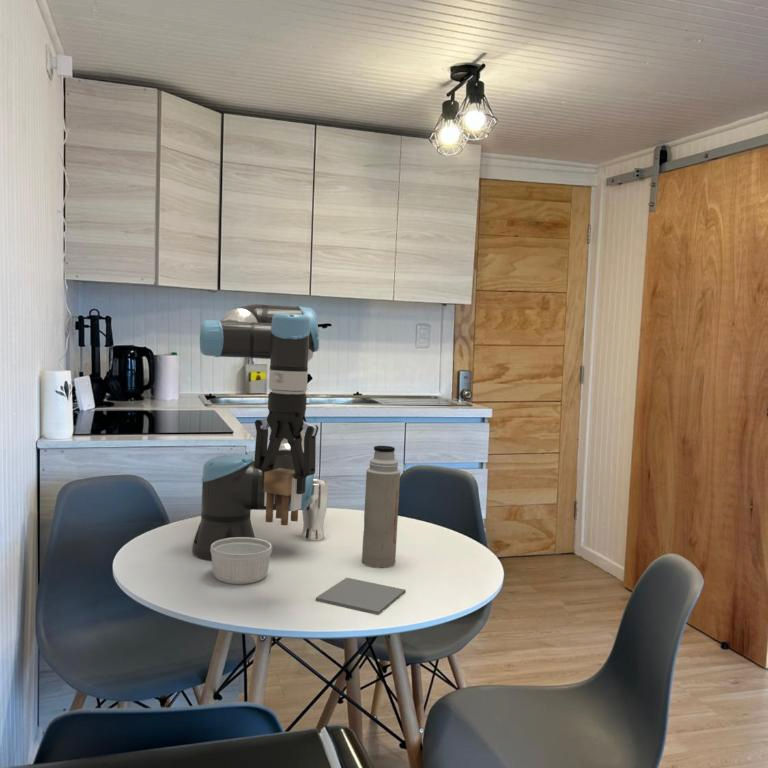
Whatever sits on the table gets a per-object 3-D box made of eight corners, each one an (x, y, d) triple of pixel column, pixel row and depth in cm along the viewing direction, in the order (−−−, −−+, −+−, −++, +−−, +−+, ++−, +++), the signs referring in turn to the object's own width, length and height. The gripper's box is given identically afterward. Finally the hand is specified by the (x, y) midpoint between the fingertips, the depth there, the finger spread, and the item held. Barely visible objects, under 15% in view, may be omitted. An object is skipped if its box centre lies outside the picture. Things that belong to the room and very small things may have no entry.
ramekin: (238, 562, 166) (239, 533, 165) (283, 574, 159) (284, 544, 159) (196, 577, 154) (197, 546, 154) (243, 591, 148) (244, 558, 147)
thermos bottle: (397, 559, 174) (404, 445, 172) (391, 569, 166) (398, 450, 164) (366, 555, 176) (372, 442, 174) (358, 565, 168) (364, 447, 166)
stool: (262, 521, 142) (264, 471, 141) (277, 516, 147) (279, 467, 146) (285, 526, 140) (288, 475, 139) (300, 520, 145) (302, 471, 144)
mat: (315, 600, 145) (315, 597, 145) (346, 580, 158) (346, 577, 158) (378, 614, 139) (378, 611, 139) (405, 592, 152) (405, 589, 152)
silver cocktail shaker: (331, 537, 189) (333, 481, 188) (315, 543, 184) (317, 485, 182) (310, 532, 193) (313, 477, 192) (294, 538, 187) (296, 481, 186)
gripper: (237, 388, 142) (233, 504, 144) (318, 396, 134) (312, 518, 136) (259, 387, 149) (255, 497, 150) (337, 394, 141) (332, 510, 143)
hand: (282, 507), depth 143 cm, fingers closed on stool, 5 cm apart
